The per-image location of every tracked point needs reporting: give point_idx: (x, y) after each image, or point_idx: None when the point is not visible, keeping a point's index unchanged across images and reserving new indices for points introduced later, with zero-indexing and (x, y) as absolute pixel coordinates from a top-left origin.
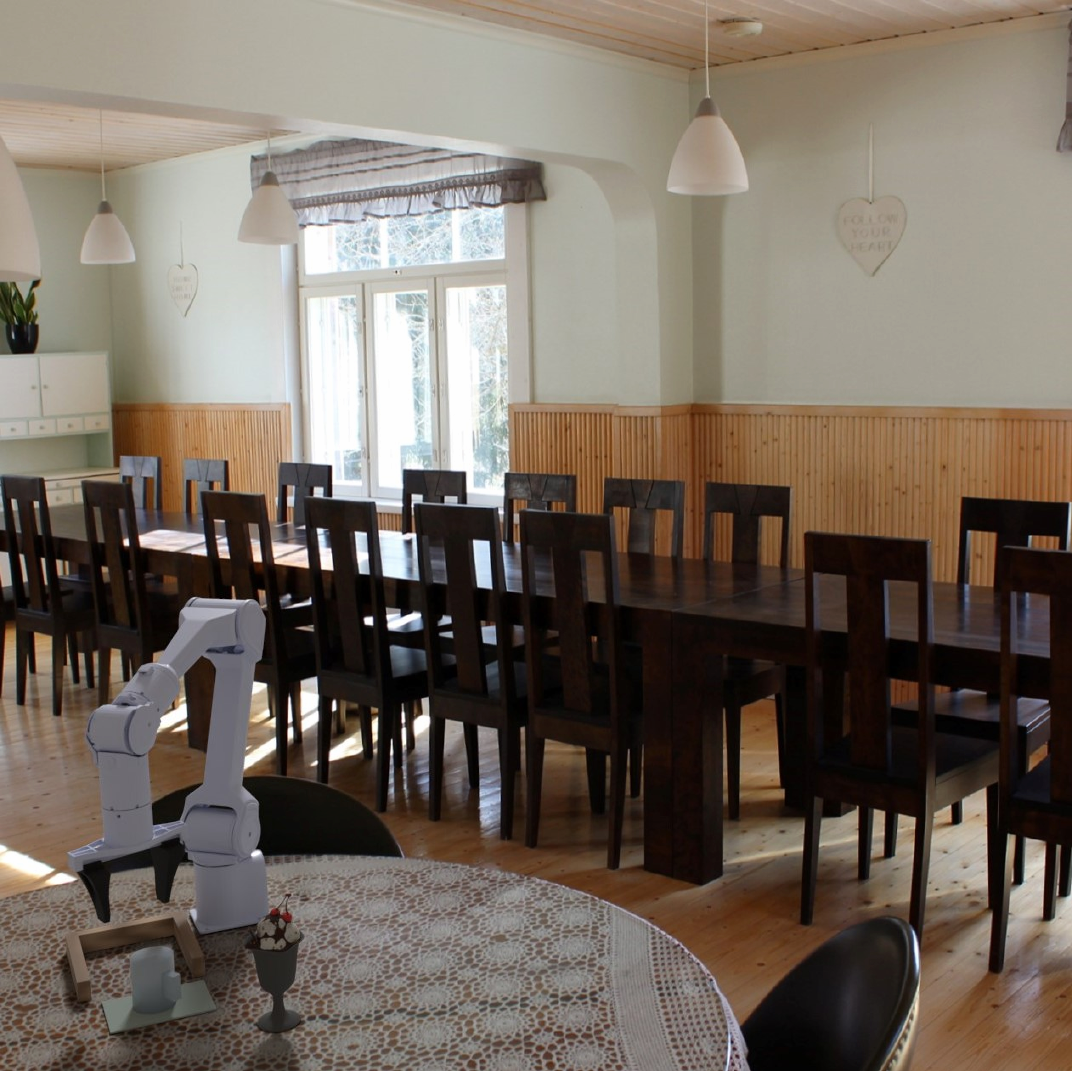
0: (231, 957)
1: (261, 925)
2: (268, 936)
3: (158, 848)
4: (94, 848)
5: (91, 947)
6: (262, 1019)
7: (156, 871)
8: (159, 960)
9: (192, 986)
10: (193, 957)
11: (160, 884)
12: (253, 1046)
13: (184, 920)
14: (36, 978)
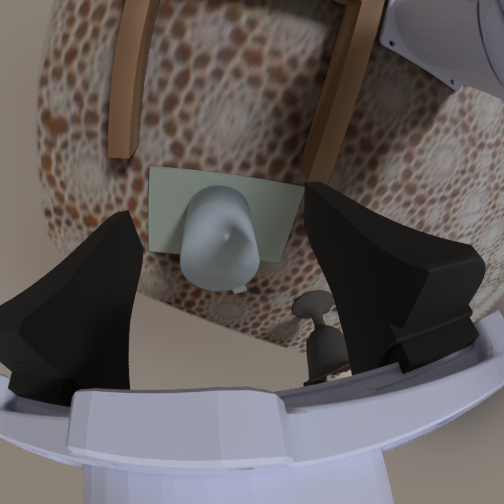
0: (372, 143)
1: None
2: None
3: (379, 351)
4: (63, 461)
5: None
6: (301, 302)
7: (343, 235)
8: (226, 282)
9: (283, 197)
10: (312, 177)
11: (323, 238)
12: (271, 324)
13: (372, 29)
14: (79, 30)
